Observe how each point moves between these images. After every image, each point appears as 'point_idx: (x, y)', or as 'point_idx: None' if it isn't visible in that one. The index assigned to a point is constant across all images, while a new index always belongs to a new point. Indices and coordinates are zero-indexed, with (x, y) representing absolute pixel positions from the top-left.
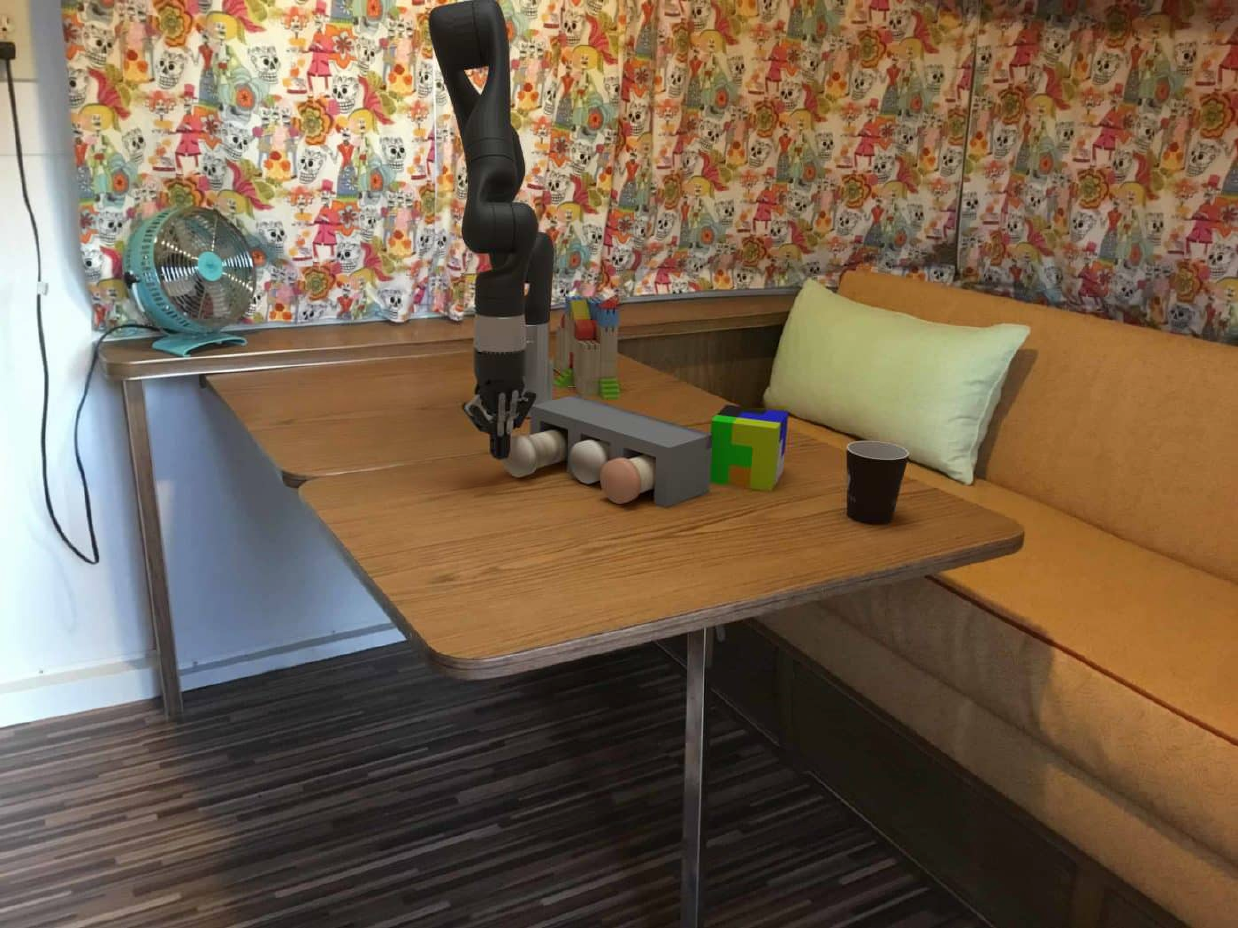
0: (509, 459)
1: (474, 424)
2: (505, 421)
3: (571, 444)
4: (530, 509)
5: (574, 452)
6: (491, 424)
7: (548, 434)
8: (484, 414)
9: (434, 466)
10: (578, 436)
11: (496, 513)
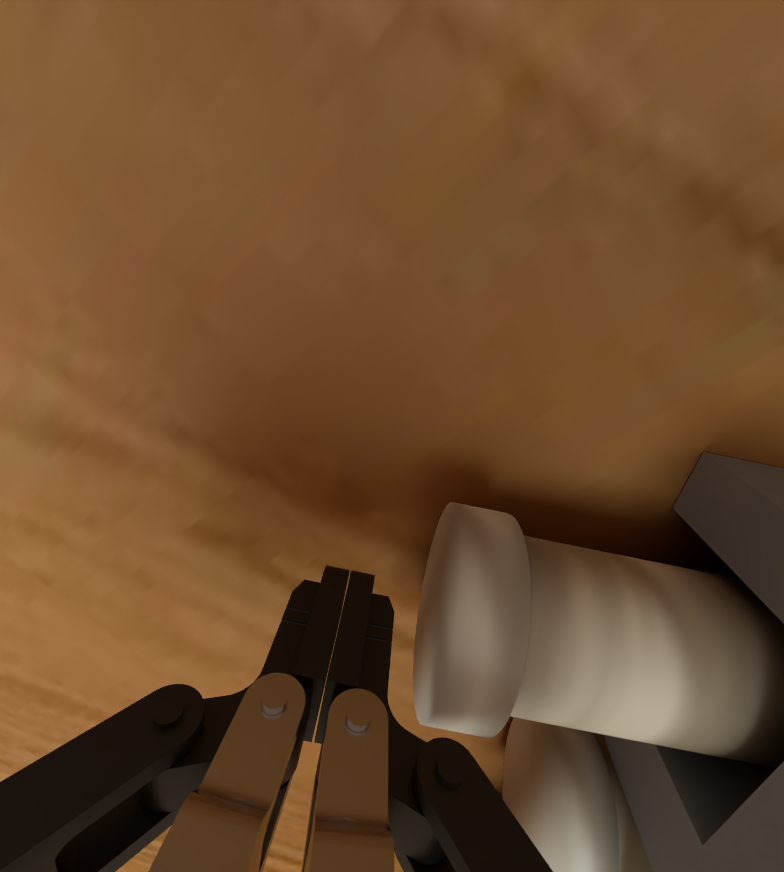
0: (442, 557)
1: (70, 744)
2: (305, 856)
3: (649, 770)
4: (243, 688)
5: (556, 799)
6: (140, 850)
7: (657, 738)
8: (172, 828)
9: (331, 117)
10: (656, 857)
11: (150, 642)
